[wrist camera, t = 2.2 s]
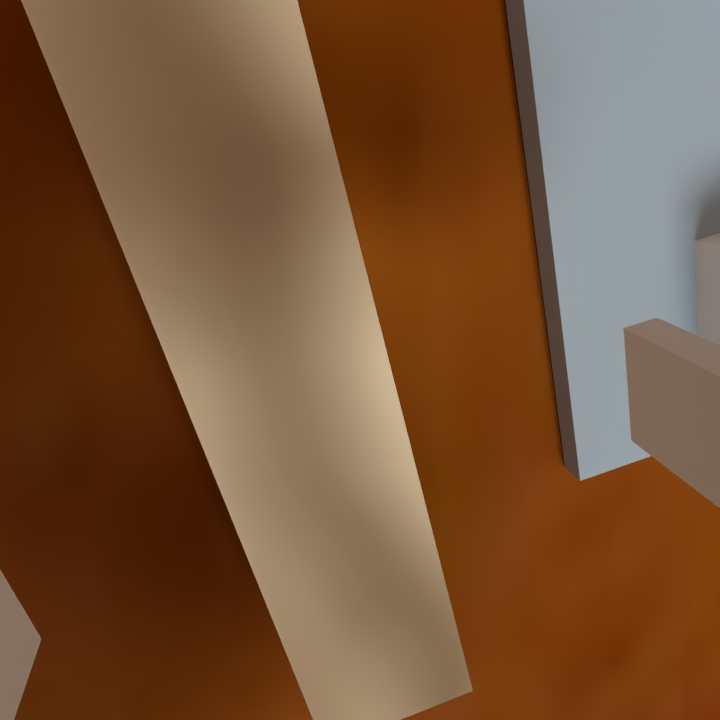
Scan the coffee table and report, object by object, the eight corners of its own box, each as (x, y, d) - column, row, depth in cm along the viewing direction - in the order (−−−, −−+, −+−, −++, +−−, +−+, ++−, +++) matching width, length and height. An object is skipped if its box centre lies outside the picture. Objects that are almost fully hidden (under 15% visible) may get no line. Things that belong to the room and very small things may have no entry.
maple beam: (296, 597, 26) (325, 749, 20) (75, 13, 18) (-2, -56, 11) (409, 556, 27) (473, 690, 20) (247, -29, 18) (267, -118, 12)
